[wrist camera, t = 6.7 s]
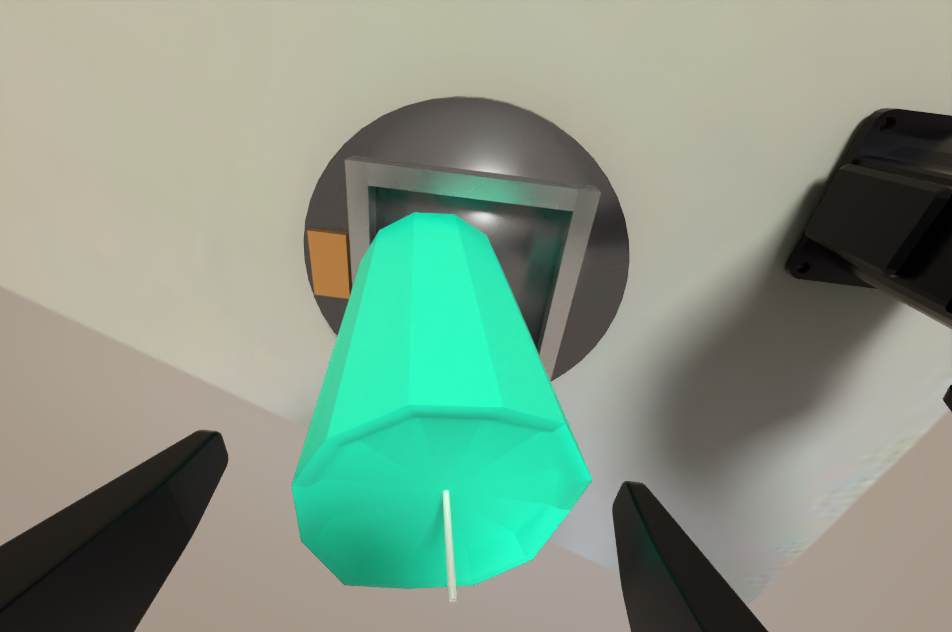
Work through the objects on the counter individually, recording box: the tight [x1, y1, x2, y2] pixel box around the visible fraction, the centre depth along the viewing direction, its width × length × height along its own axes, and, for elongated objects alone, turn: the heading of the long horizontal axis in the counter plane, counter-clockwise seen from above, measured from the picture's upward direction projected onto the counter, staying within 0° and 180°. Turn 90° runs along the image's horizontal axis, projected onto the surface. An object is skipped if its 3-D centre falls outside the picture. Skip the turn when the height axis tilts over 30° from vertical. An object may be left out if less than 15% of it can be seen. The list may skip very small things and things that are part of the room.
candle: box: [292, 212, 592, 603], centre depth 12 cm, size 6×6×12 cm
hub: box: [304, 96, 629, 382], centre depth 17 cm, size 14×14×2 cm
